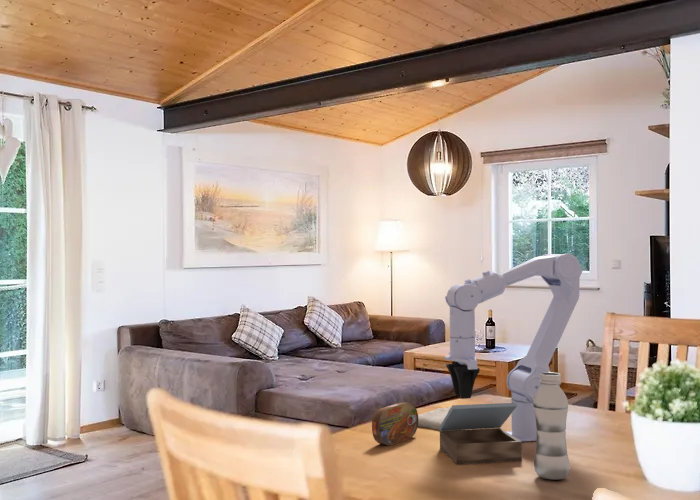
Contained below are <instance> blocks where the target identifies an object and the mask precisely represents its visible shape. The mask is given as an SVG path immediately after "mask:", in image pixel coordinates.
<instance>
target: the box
mask: <svg viewBox="0 0 700 500" xmlns="http://www.w3.org/2000/svg"><path fill="white" fill-rule="evenodd" d="M522 443H523V441H520V440H518V439H517V438H515V437H513V436H512V435H510V434H509V433H507V431H506V430H504V429H503V428H501V427H500V428H488V429H467V430H451V431H440V430H439V450H440V451H441V452H442V453H443V454H445V455H446V457H448V458H449V459H450V461H452V462H453V463H455V465H459V466H461V465H475V464H491V463H492V464H493V463H494V464H495V463H509V462H510V463H511V462H522V461H523V460H522V459H523V457H522V455H523V454H522V453H523V451H522V449H523V448H522V446H523V445H522Z"/></svg>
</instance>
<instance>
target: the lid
mask: <svg viewBox="0 0 700 500" xmlns="http://www.w3.org/2000/svg"><path fill="white" fill-rule="evenodd" d="M450 407H451V408H450V409H449V411H448V414H447V415H446V417H445V419H444V420H443V422H442V423H441V425H440V427H439V429H440V430H439V432H440V431H447V430H472V429H492V428H501V427H502V426H503V425H504V424H505V422H507V420H508V418H509V417H511V416H512V412H513V411H514V410H515V408H516V407H517V404H516V403H511V402H500V403H499V402H498V403H497V402H496V403H475V404H473V403H471V404H456V405H455V404H452V406H450Z"/></svg>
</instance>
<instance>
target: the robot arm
mask: <svg viewBox="0 0 700 500" xmlns="http://www.w3.org/2000/svg"><path fill="white" fill-rule="evenodd" d="M583 272H584V271H583V268H582V266H581V264H580V261H579V260H578V258H577V257H576V256H575V255H573V254H572V253H563V254H562V253H561V254H560V253H558V254H557V253H555V254H554V253H546V254H543V255H539V256H535V257H533V258H531V259H529V260H527V261H524V262H522V263H520V264H518V265H516V266H514V267H511V268H509V269H507V270H504V271H503V272H500V273H498V272H496V271H493V270H491V271H490V270H485V271H483V272H482V275H479V276H478V277H475V278H472V279H470V278H467V279H465V280H464V284H461V283H460V284H459V283H458V284H453V285H451V286H450V287H449V289H448V291H447V294H446V296H445V297H444V298H445V299H444V300H445V303H446V304H447V306H448V307H449V352H448V355H445V356H444V360H446V361H451V362H452V363H446V364H445V366H446V368H447V370H448V372H449V375H450V378H451V382H452V386H453V390H454V394H455V395H456V396H459V397H460V399H462V400H463V399H466V400H467V399H471V398H472V394H473V391H474V390H473V389H474V386H475V385H474V384H475V382H476V379H477V377H478V374H479V373H480V372H481V371H480V368H479V367H478V360H477V356H476V322H475V321H476V318H475V317H476V316H475V314H476V313H475V311H476V308H477V306H478V305H479V304H482V303H484V302H486V301H488V300H491V299H494V298H496V297H498V296H500V295H502V294H504V292H505V290H506V288H507V287H509V286H511V285H513V284H516V283H519V282H521V281H525V280H527V279H530V278H533V277H535V276H536V277H537V276H539V277H541V278H542V280H543V281H544V282H545V283H546V285H548V287H549V289H550V290H551V293H552V295H553V297H552V300H551V301H550V304H549V305H548V308H547V310H546V312H545V315H544V317H543V319H542V321H541V323H540V325H539V328H538V330H537V332H536V333H535V336H534V338H533V340H532V342H531V344H530V347H529V349H528V351H527V353H526V355H525V356H523V357H522V358H521V359H519V360H518V361H517V363H516V365H515V367H514V368H513V369H511V370H510V371H509V373H508V374H507V376H506V385H507V389H508V390H509V391H511V397H510V398H511V402H510V403H516V404H517V407H516V408H515V410H514V411H513V412H512V413H511V431H510V430H509V431H506V432H507V433H509V434H510V435H512V436H513V437H515V438H517V439H518V440H520V441H521V442H536V439H537V432H536V430H537V428H536V419H535V413H534V406H533V398H534V395H535V394H536V392H537V391H538V390H539V388H540V387H541V385H542V384H541V383H540V380H541V373H544V372H551V370H550V366H549V364H550V362H551V361H552V358H553V356H554V353H555V351H556V350H557V347H558V345H559V342H560V341H561V339H562V336H563V334H564V332H565V330H566V327H567V326H568V323H569V321H570V320H571V319H570V318H571V316H572V314H573V312H574V310H575V307H576V305H577V303H578V301H579V299H580V280H581V279H580V277H581V276H582V274H583Z"/></svg>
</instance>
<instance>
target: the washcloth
mask: <svg viewBox="0 0 700 500" xmlns="http://www.w3.org/2000/svg"><path fill="white" fill-rule="evenodd" d="M451 407H452V406H448V407H446V408H444V407H441V408H440V407H437V408H435V409H434V410H433V409H432V410H430V411H426V412H423V413H421V414H418V427H420V428H428V429H433V430H437V431H440V429H439V427H440V425H441V423H442V422H443V420H444V419H445V417H446V415H447V414H448V411H449V409H450V408H451ZM447 431H451V430H447Z"/></svg>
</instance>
